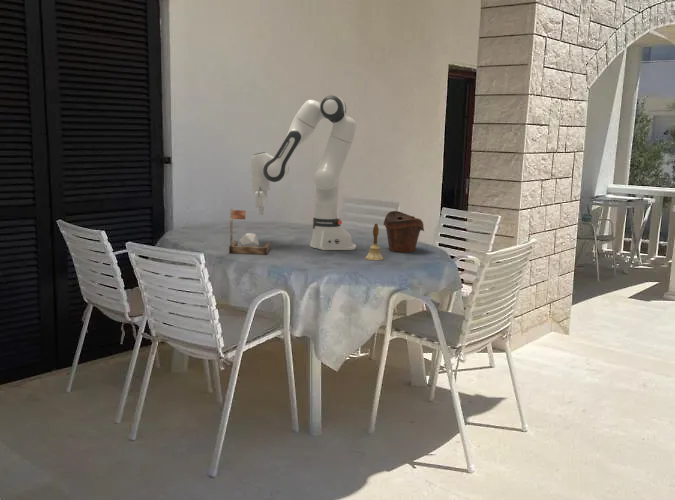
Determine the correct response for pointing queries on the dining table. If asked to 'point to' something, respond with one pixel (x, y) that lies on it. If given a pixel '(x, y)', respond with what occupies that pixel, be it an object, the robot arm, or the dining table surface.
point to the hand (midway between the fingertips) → (261, 214)
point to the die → (249, 240)
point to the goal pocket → (234, 246)
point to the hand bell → (375, 247)
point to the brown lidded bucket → (402, 231)
